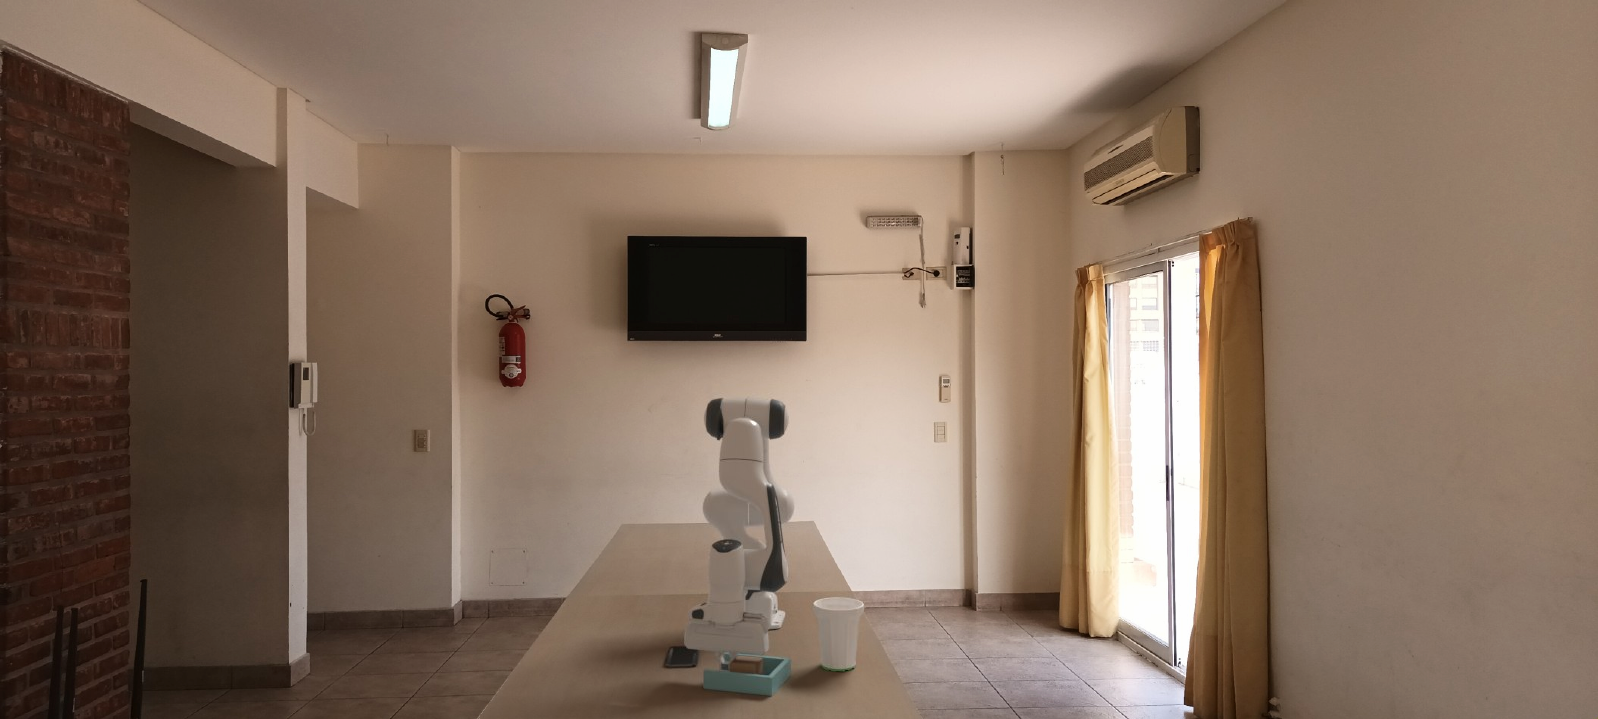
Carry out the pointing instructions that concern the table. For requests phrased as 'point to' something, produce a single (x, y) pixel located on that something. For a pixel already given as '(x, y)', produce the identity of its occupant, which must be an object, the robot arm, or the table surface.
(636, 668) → the table surface
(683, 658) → the phone
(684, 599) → the table surface
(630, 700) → the table surface
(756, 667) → the walnut block
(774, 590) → the robot arm
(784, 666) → the box
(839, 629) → the cup
